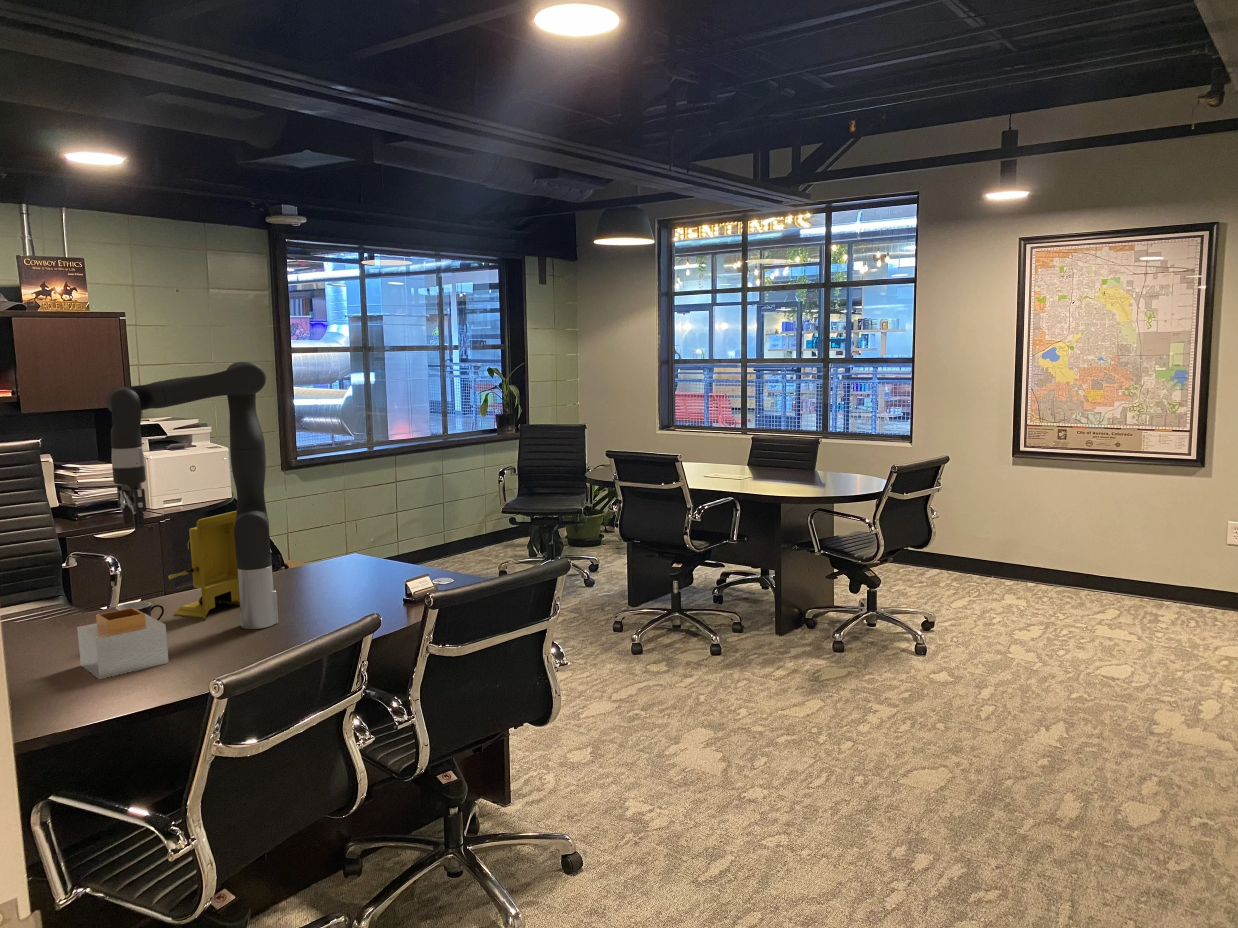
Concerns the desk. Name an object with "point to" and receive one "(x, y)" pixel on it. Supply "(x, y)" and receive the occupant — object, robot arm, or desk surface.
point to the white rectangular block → (122, 643)
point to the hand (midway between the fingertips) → (133, 525)
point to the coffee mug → (141, 607)
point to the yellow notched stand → (212, 564)
